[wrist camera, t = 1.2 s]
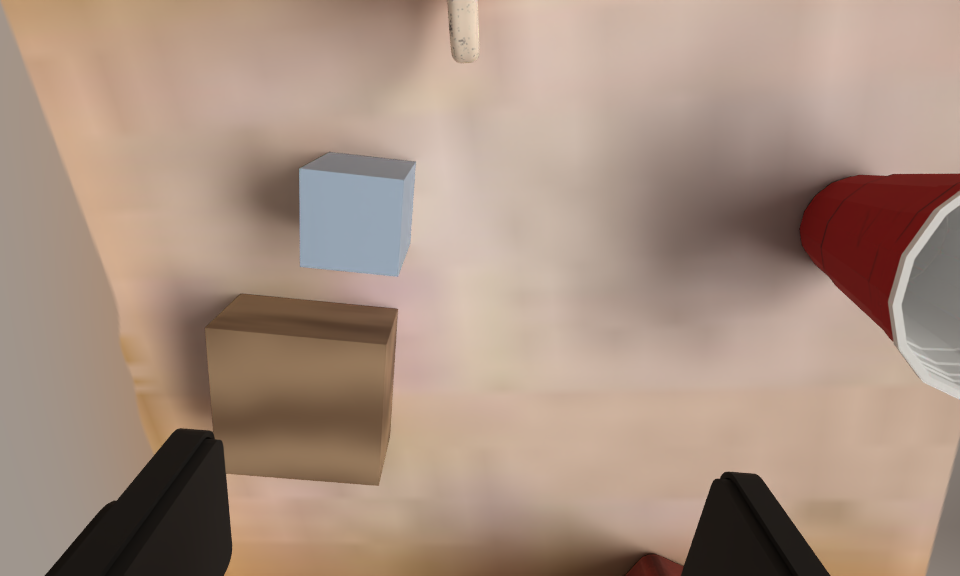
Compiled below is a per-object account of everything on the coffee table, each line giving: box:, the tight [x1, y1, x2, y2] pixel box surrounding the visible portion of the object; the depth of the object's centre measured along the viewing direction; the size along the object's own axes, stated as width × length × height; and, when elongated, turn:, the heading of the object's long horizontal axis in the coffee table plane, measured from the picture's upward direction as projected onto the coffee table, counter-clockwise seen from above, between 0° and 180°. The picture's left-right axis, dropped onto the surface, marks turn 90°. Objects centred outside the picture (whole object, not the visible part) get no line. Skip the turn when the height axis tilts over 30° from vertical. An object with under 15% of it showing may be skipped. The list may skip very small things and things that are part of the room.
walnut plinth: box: [205, 294, 398, 486], centre depth 34 cm, size 10×10×5 cm
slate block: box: [299, 152, 416, 277], centre depth 30 cm, size 5×5×6 cm
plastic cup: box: [800, 174, 960, 400], centre depth 28 cm, size 11×11×12 cm
